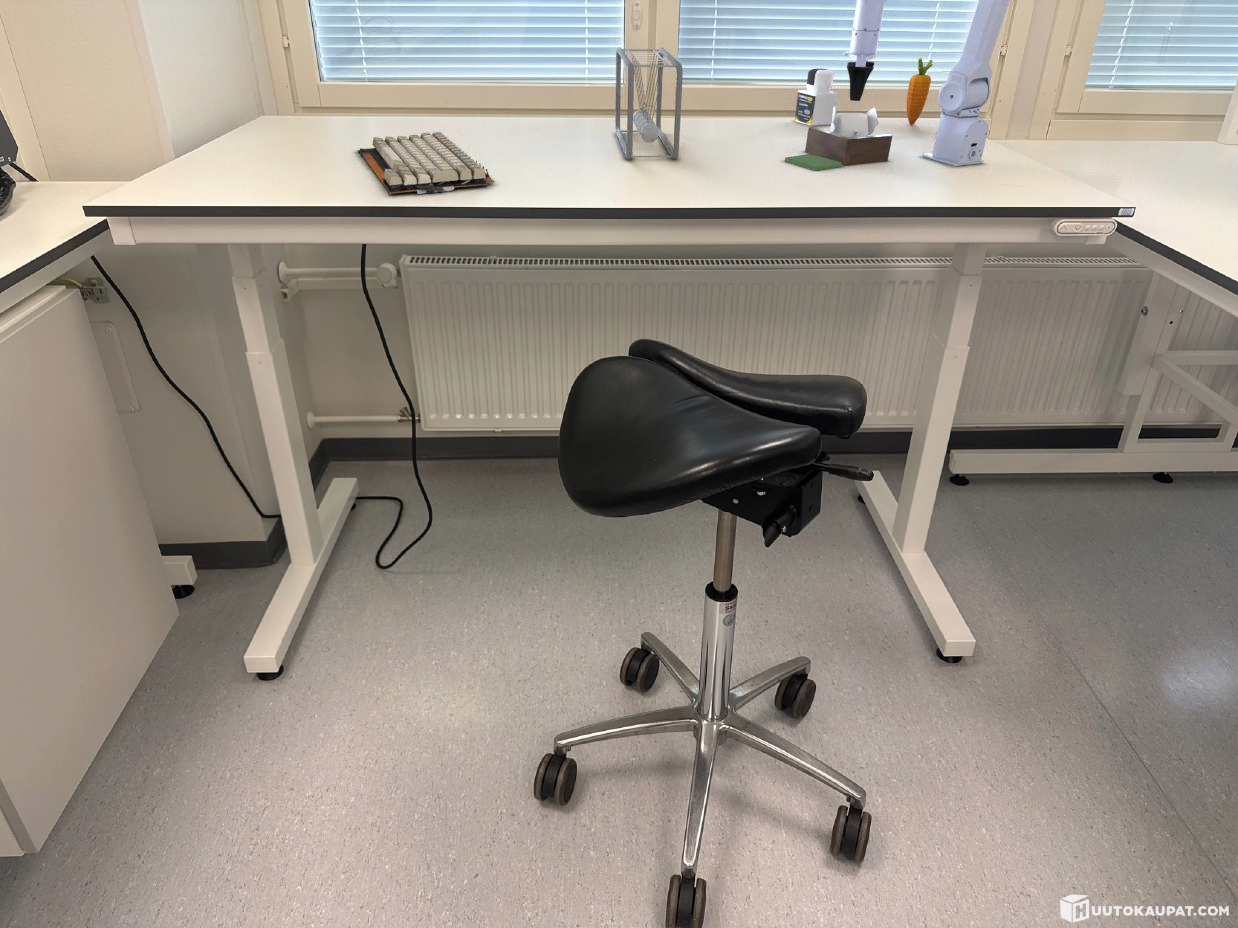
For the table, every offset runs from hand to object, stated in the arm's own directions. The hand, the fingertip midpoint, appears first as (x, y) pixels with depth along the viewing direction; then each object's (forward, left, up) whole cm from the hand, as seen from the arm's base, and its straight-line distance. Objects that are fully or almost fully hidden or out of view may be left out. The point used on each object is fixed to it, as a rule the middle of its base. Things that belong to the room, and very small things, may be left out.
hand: (855, 99), depth 181 cm
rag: (-17, +23, -8) cm, 30 cm away
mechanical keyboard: (+7, +96, -9) cm, 97 cm away
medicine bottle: (+19, -4, -9) cm, 21 cm away
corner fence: (-14, +11, -8) cm, 20 cm away
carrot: (+8, -25, -9) cm, 27 cm away
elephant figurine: (-10, +8, -9) cm, 15 cm away
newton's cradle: (+10, +47, -9) cm, 49 cm away
